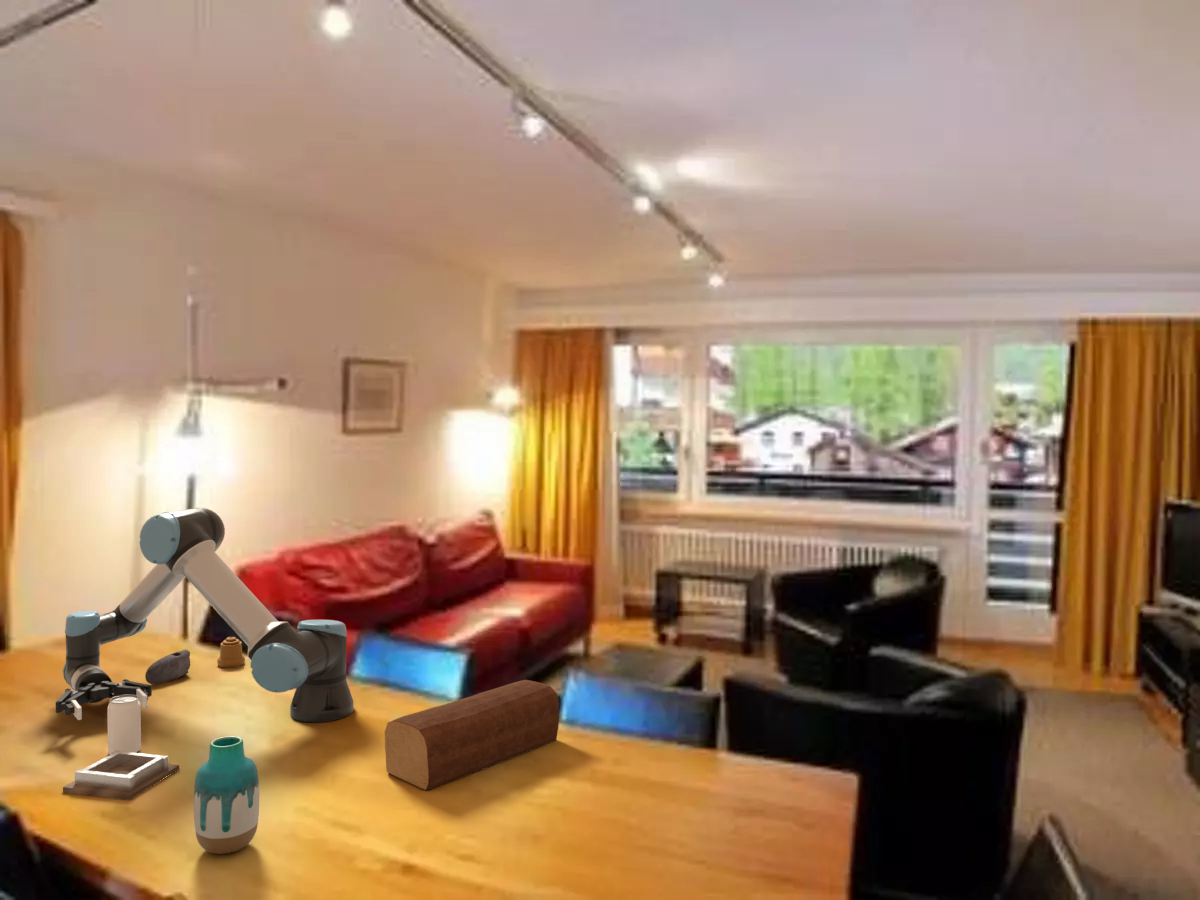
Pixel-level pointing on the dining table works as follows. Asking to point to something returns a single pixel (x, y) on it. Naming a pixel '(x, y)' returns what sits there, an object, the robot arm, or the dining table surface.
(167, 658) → the perforated stone tool
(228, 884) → the dining table surface
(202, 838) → the vase
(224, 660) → the ornamental finial
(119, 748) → the can
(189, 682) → the dining table surface
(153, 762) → the grey hollow square frame
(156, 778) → the collar base
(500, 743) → the bread
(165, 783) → the dining table surface
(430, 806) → the dining table surface
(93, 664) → the robot arm
